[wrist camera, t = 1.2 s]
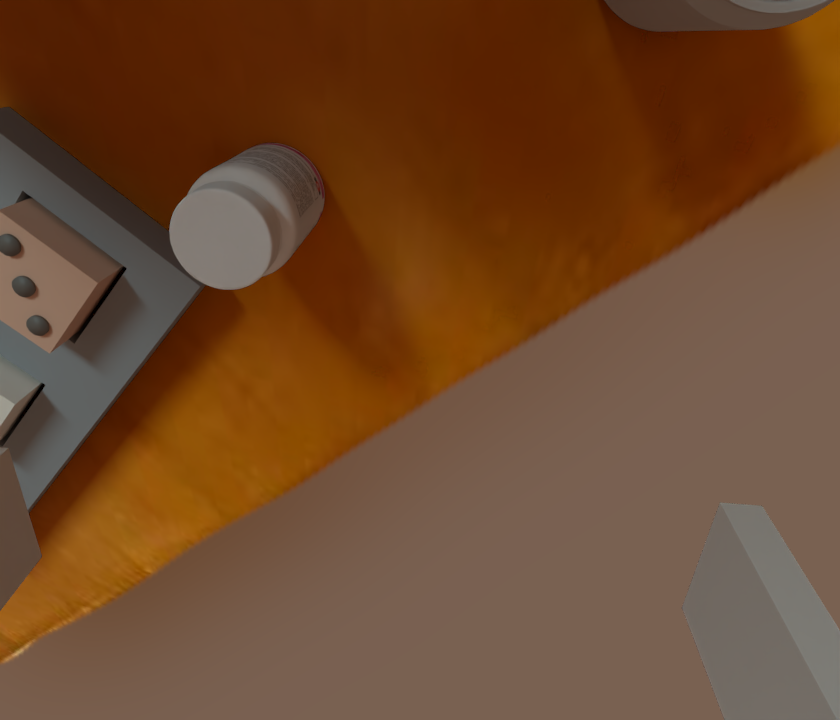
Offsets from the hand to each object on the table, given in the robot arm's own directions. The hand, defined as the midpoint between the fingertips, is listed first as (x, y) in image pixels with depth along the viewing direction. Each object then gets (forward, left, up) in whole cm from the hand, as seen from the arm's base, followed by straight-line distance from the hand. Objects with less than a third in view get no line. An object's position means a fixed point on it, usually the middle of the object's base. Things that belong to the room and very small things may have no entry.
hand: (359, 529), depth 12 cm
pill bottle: (-6, -4, -22) cm, 24 cm away
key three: (-12, -14, -20) cm, 27 cm away
